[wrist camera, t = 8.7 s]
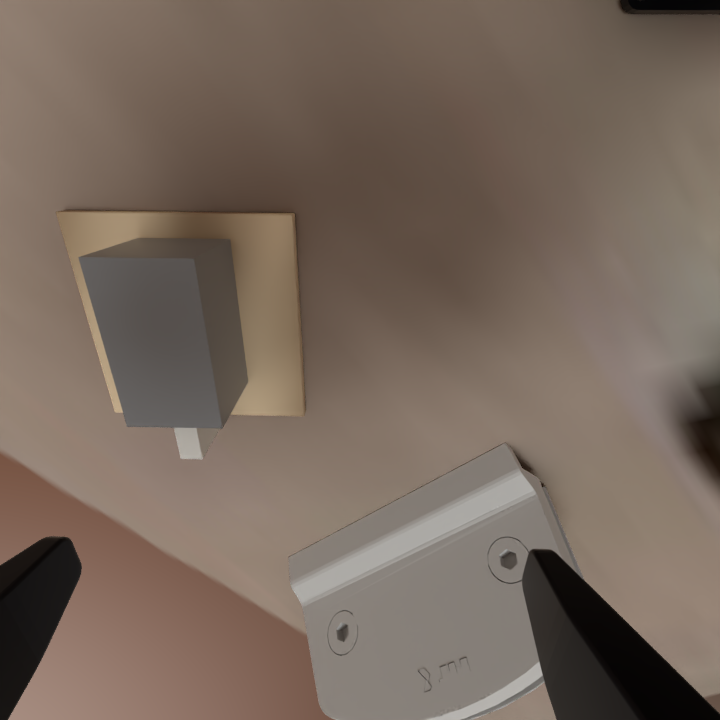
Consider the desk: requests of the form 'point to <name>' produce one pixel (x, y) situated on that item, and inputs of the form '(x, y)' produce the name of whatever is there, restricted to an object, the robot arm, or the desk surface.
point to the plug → (171, 333)
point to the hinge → (430, 597)
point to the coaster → (253, 283)
